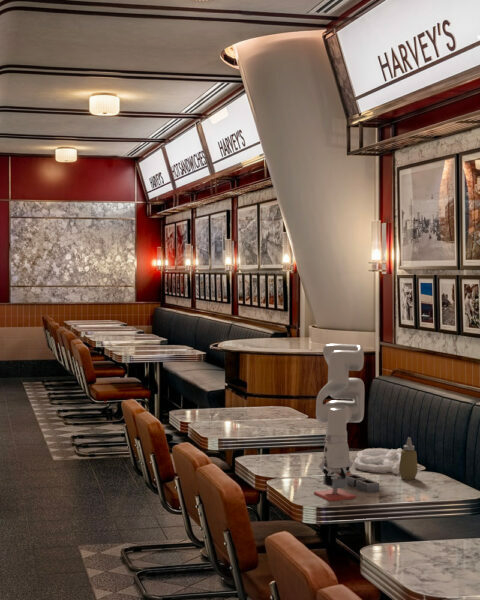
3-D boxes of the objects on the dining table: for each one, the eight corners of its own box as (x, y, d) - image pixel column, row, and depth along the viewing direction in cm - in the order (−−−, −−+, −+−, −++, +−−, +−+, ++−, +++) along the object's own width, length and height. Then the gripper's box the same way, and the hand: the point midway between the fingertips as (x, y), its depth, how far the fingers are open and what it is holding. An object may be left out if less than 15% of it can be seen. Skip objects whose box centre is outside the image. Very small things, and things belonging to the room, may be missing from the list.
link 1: (343, 483, 372) (343, 475, 372) (354, 482, 375) (355, 474, 375) (354, 488, 365) (354, 479, 365) (366, 486, 368) (366, 478, 368)
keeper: (313, 494, 353) (314, 471, 353) (338, 491, 359) (339, 469, 359) (330, 501, 343) (331, 478, 342) (356, 498, 348) (356, 475, 348)
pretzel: (405, 479, 390) (405, 465, 389) (351, 476, 396) (351, 462, 395) (409, 458, 416) (409, 445, 415) (359, 456, 422) (358, 443, 421)
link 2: (355, 488, 364) (355, 480, 364) (367, 487, 367) (367, 478, 367) (367, 493, 357) (367, 484, 357) (379, 491, 360) (379, 483, 360)
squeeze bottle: (416, 477, 388) (417, 436, 387) (418, 481, 380) (419, 439, 379) (397, 476, 389) (399, 435, 388) (399, 480, 381) (400, 438, 380)
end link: (323, 484, 353) (323, 475, 352) (335, 483, 355) (336, 474, 355) (334, 488, 346) (334, 479, 345) (347, 487, 348) (347, 478, 348)
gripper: (323, 442, 343) (322, 488, 343) (359, 439, 351) (358, 484, 351) (312, 438, 349) (311, 484, 350) (348, 436, 357) (347, 480, 358)
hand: (335, 483), depth 350 cm, fingers closed on end link, 6 cm apart
